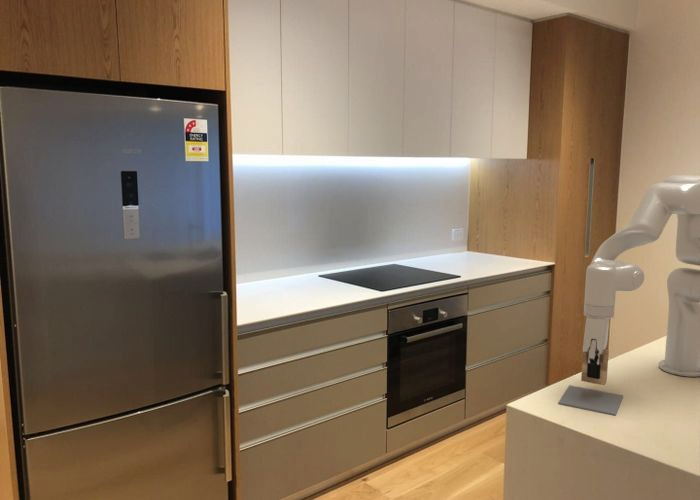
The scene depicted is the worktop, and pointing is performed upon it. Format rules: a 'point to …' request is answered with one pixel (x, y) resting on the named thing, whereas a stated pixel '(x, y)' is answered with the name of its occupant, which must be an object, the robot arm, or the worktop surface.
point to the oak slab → (603, 369)
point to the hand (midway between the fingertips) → (594, 375)
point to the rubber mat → (591, 400)
